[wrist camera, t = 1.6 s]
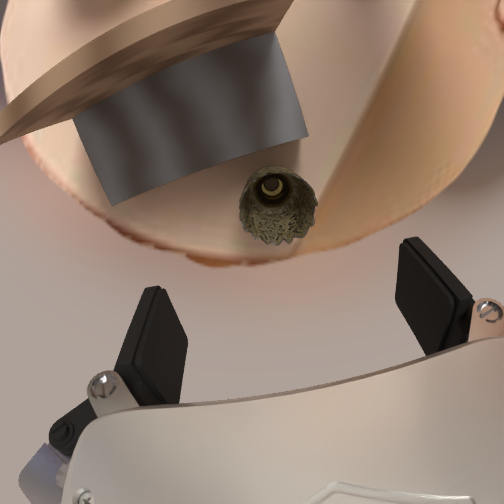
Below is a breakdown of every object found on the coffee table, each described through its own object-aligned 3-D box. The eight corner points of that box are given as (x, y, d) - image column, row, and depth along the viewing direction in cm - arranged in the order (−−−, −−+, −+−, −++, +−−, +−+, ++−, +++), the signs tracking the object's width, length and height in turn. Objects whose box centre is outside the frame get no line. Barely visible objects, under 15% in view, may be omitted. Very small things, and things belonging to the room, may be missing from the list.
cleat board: (266, 27, 25) (290, -33, 10) (300, 129, 31) (356, 176, 16) (86, 103, 28) (-21, 133, 13) (125, 192, 34) (52, 277, 19)
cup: (242, 150, 32) (242, 168, 26) (307, 157, 33) (324, 177, 26) (237, 210, 36) (235, 243, 29) (297, 215, 37) (309, 248, 30)
